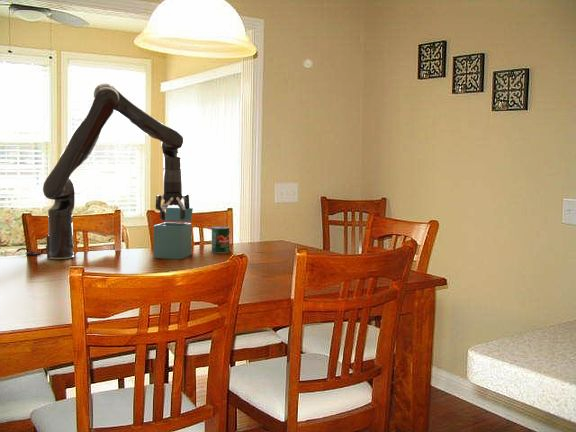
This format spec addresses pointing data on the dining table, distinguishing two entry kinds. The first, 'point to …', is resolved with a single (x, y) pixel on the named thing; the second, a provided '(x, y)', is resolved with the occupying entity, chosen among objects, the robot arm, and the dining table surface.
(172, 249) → the carton
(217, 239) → the canned tomato
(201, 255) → the dining table surface
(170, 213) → the flap
